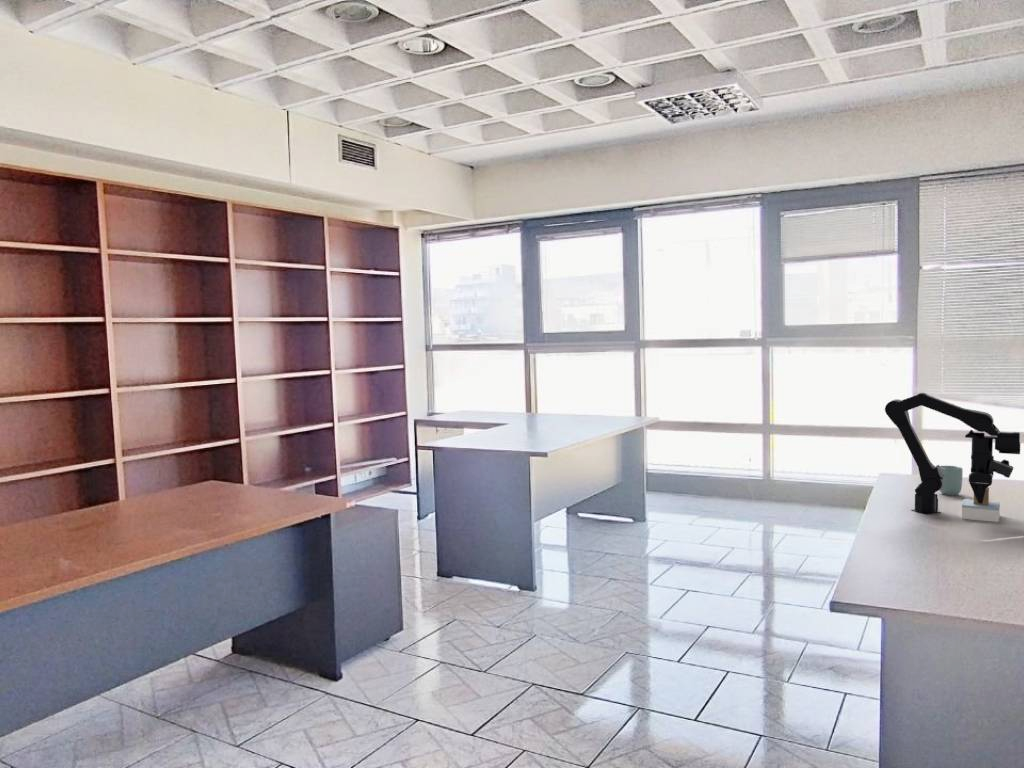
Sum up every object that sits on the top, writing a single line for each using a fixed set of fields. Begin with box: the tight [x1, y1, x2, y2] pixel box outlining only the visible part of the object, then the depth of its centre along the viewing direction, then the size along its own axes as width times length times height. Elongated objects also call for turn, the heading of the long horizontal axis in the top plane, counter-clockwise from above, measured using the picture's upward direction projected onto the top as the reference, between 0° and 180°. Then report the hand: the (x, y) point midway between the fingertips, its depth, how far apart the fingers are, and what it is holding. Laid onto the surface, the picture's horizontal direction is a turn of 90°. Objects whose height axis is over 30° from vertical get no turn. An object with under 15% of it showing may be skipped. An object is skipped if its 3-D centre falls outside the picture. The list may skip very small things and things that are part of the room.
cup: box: [939, 465, 963, 496], centre depth 286 cm, size 8×8×10 cm
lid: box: [961, 486, 1001, 511], centre depth 250 cm, size 10×10×6 cm
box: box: [961, 507, 1001, 523], centre depth 250 cm, size 10×10×4 cm
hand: (980, 500), depth 250 cm, fingers open, 9 cm apart
